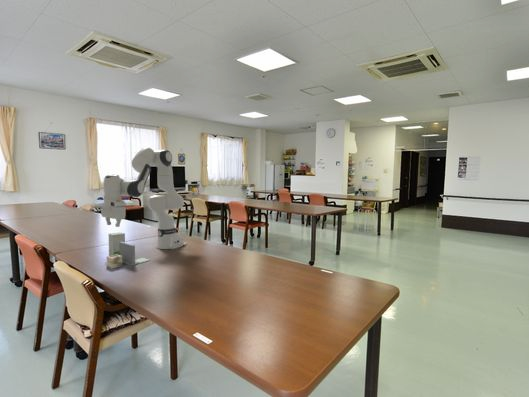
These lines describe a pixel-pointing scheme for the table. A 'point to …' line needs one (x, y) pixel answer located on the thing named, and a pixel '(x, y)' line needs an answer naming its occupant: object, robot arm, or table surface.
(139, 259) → the coaster
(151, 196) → the robot arm
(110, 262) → the letter cube
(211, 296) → the table surface
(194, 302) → the table surface
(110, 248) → the skincare box
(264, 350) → the table surface
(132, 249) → the screen
